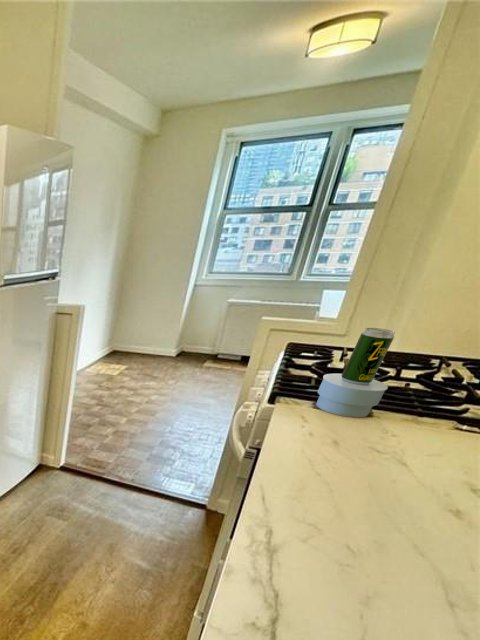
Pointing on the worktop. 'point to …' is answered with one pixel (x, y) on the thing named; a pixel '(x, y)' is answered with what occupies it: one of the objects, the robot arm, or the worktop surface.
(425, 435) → the worktop surface
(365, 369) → the beer can
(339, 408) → the yogurt tub
